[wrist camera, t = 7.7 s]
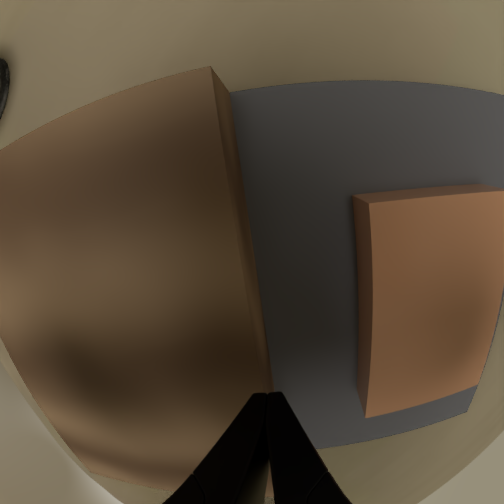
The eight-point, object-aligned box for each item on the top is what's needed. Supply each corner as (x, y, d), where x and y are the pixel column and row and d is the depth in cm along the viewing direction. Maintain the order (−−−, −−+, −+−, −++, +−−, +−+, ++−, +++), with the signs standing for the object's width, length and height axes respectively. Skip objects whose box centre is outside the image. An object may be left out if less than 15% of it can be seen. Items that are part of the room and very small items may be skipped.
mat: (465, 408, 13) (466, 411, 13) (283, 448, 15) (283, 452, 14) (500, 96, 8) (504, 95, 8) (230, 94, 10) (229, 92, 9)
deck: (283, 448, 15) (283, 496, 11) (109, 436, 16) (90, 472, 13) (230, 94, 10) (210, 66, 6) (6, 171, 11) (-44, 180, 8)
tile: (365, 418, 11) (356, 388, 13) (477, 384, 10) (461, 361, 12) (368, 203, 8) (351, 195, 10) (510, 190, 7) (481, 183, 9)
